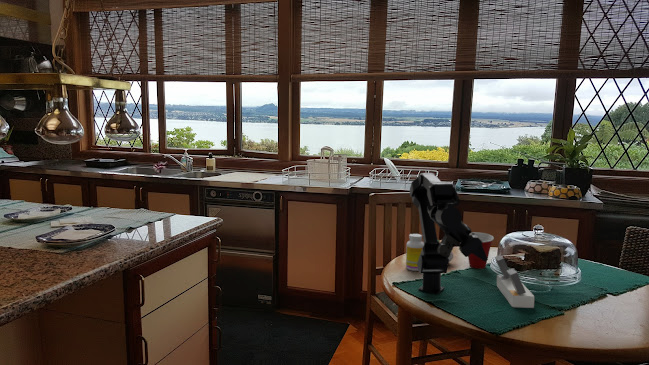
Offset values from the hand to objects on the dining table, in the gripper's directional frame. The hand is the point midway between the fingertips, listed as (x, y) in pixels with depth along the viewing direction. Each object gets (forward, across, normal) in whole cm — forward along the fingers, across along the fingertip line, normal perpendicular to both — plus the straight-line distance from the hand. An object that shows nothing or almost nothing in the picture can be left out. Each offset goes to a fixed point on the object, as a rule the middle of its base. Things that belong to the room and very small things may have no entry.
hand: (485, 259), depth 132 cm
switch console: (+17, -7, -2) cm, 19 cm away
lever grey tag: (+15, -14, 0) cm, 20 cm away
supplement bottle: (-3, -32, -22) cm, 39 cm away
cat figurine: (+3, -42, -17) cm, 45 cm away
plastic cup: (+14, -36, -6) cm, 39 cm away
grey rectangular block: (+15, 0, 0) cm, 15 cm away
